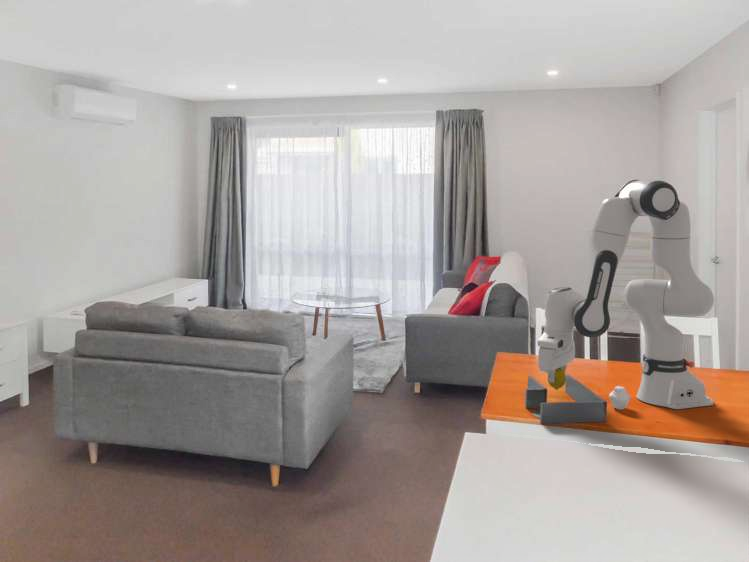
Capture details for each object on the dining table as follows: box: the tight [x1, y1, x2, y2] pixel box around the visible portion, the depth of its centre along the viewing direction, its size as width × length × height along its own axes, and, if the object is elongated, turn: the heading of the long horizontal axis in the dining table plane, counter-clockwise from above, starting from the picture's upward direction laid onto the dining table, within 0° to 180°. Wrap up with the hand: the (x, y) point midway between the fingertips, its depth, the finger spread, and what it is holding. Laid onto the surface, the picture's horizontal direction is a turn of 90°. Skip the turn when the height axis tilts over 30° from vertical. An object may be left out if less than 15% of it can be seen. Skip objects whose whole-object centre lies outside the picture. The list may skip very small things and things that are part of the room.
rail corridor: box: [524, 374, 608, 425], centre depth 190 cm, size 20×28×6 cm
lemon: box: [547, 368, 566, 391], centre depth 196 cm, size 6×6×8 cm
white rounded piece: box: [608, 385, 631, 410], centre depth 189 cm, size 6×6×7 cm
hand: (556, 379), depth 196 cm, fingers closed on lemon, 5 cm apart
